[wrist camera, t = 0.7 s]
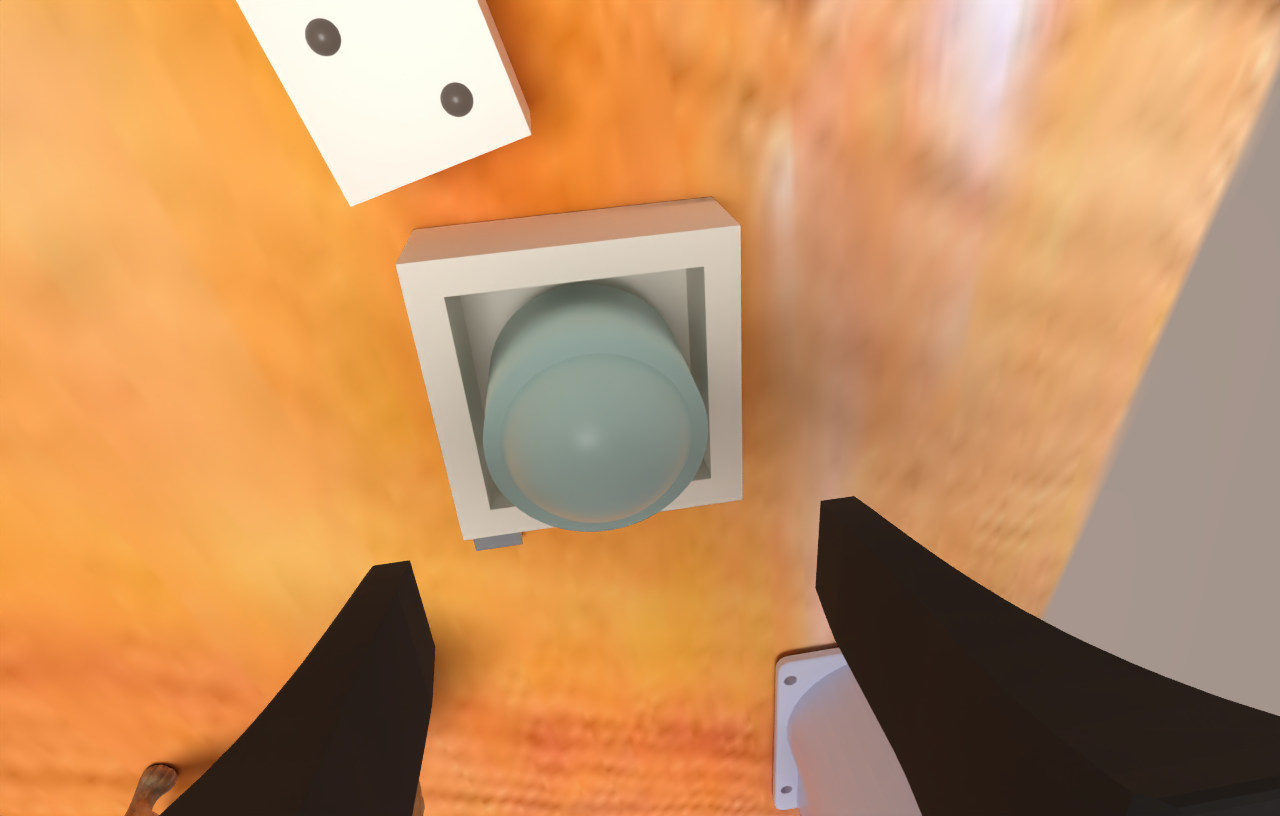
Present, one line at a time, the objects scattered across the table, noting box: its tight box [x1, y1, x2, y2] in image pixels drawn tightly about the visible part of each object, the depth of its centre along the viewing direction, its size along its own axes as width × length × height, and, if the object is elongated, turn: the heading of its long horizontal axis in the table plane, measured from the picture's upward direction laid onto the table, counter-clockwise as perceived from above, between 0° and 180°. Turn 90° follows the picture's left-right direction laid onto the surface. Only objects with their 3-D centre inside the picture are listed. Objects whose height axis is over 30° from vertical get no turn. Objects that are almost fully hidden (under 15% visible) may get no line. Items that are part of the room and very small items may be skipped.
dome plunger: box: [483, 284, 708, 532], centre depth 18 cm, size 5×5×5 cm
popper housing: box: [396, 197, 743, 540], centre depth 20 cm, size 8×8×3 cm
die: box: [236, 0, 531, 206], centre depth 16 cm, size 4×4×4 cm
